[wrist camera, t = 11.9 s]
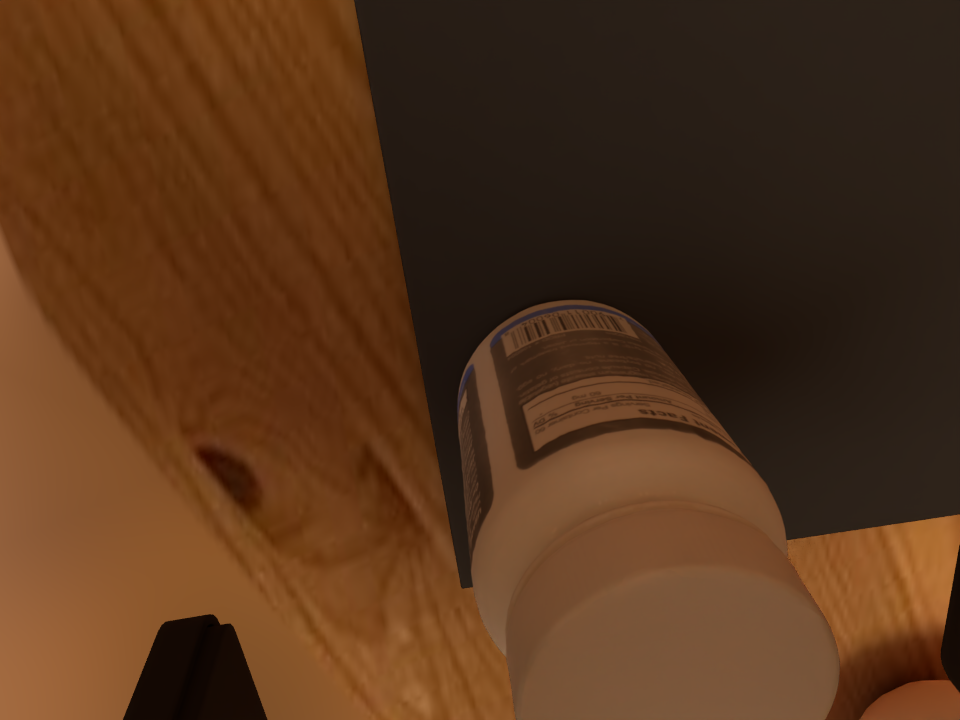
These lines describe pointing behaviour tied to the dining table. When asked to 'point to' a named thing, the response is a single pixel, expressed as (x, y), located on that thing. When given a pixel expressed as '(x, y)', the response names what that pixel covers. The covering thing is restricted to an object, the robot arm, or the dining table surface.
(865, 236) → the slate mat
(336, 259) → the dining table surface
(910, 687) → the egg
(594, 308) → the pill bottle
